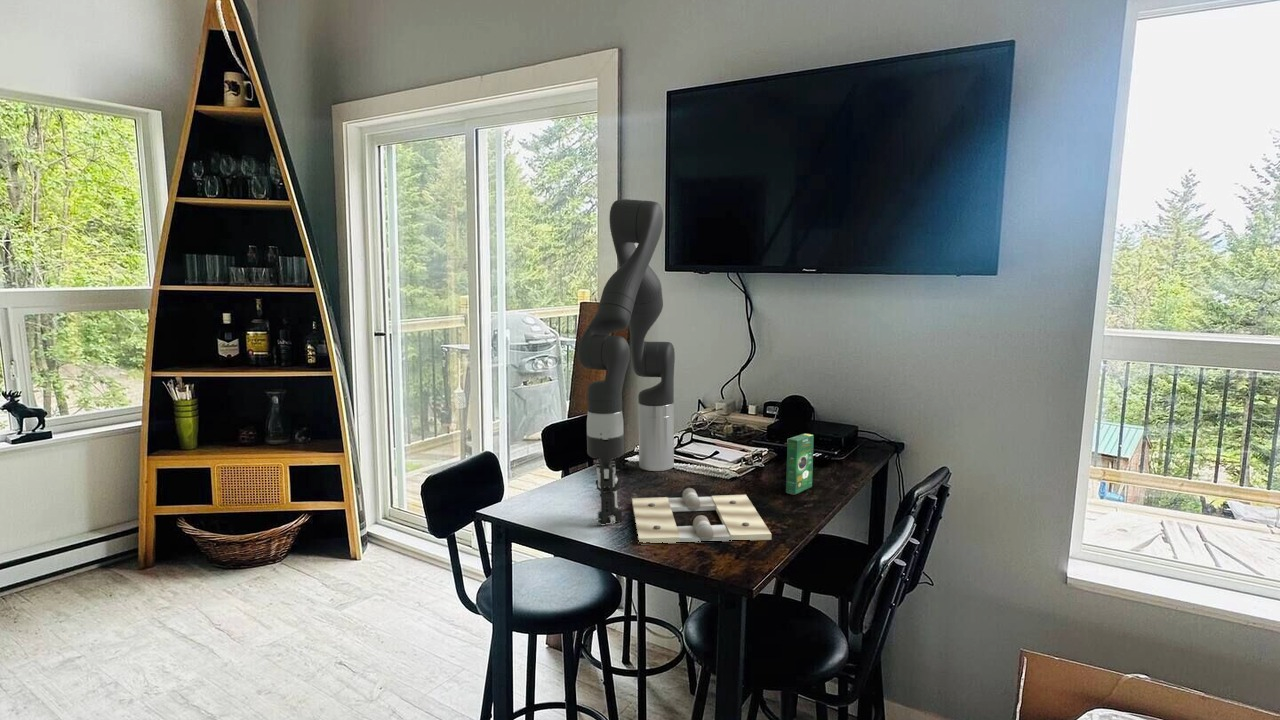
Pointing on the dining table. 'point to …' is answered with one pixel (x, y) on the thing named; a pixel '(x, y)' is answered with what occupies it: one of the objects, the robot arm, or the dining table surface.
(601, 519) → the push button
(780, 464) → the dining table surface
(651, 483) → the dining table surface
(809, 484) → the coffee box
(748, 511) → the hinge plate
